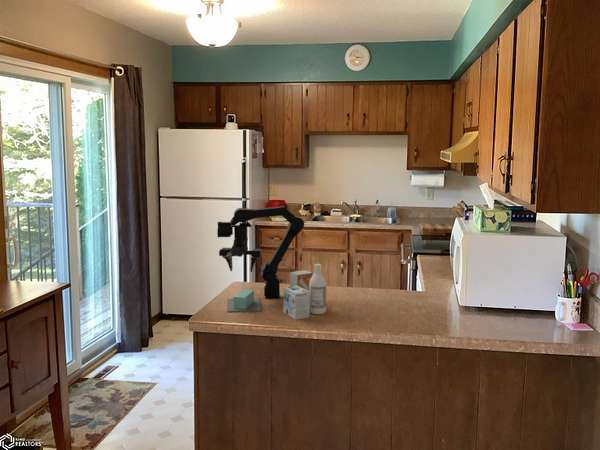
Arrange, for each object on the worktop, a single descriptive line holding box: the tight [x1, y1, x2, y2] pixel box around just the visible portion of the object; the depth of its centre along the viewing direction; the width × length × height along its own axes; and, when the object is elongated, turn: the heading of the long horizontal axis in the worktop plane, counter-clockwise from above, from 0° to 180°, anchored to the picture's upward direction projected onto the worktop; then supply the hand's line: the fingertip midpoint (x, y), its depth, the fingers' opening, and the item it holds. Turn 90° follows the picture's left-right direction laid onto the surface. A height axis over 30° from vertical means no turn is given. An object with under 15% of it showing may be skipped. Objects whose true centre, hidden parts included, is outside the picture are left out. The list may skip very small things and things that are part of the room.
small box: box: [289, 269, 314, 291], centre depth 238 cm, size 8×6×13 cm
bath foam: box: [309, 263, 327, 315], centre depth 222 cm, size 7×7×20 cm
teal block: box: [233, 288, 255, 309], centre depth 231 cm, size 5×5×12 cm
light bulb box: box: [283, 286, 310, 321], centre depth 219 cm, size 11×7×11 cm, turn 29°
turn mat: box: [226, 297, 262, 313], centre depth 232 cm, size 14×18×1 cm
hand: (241, 271), depth 241 cm, fingers open, 9 cm apart
